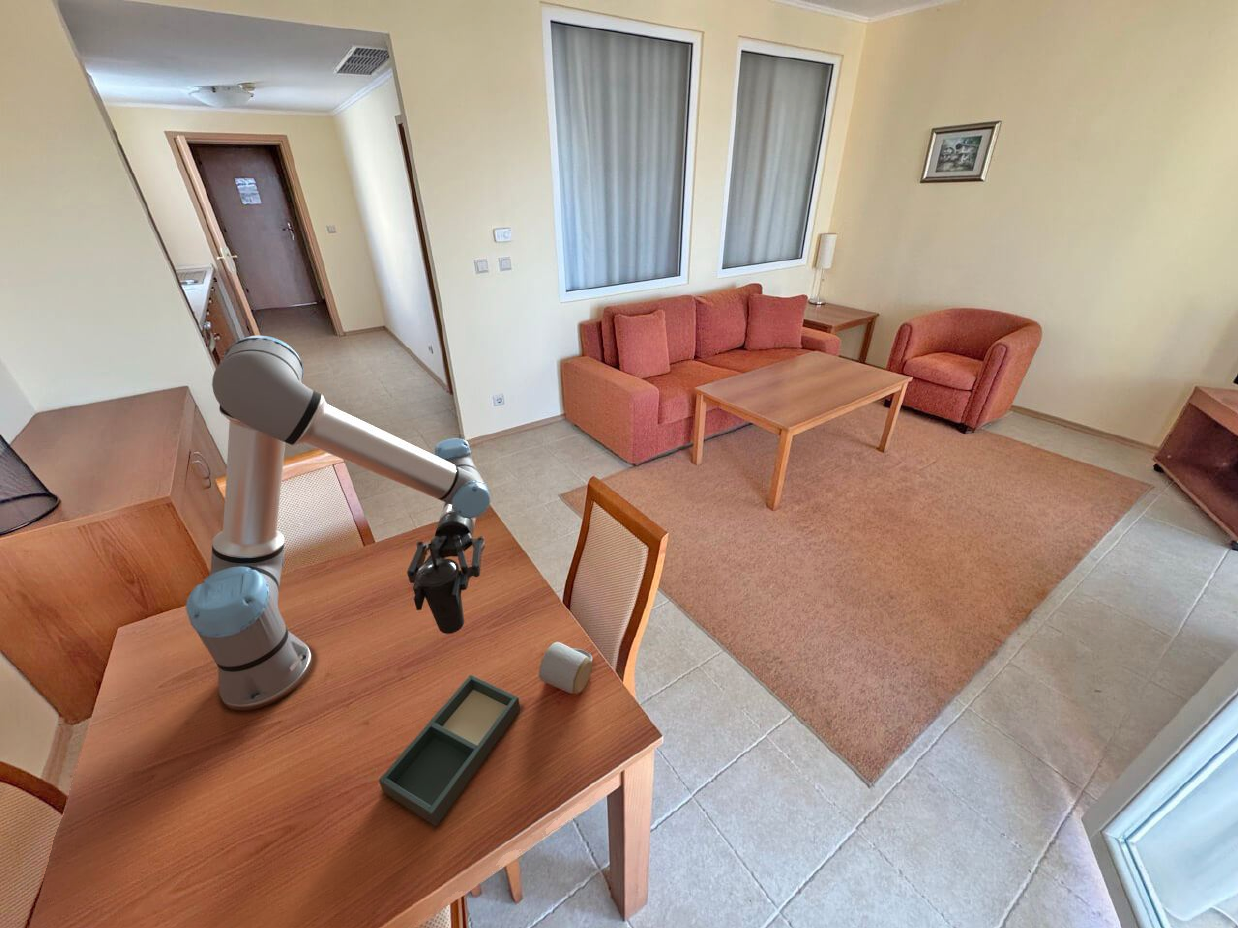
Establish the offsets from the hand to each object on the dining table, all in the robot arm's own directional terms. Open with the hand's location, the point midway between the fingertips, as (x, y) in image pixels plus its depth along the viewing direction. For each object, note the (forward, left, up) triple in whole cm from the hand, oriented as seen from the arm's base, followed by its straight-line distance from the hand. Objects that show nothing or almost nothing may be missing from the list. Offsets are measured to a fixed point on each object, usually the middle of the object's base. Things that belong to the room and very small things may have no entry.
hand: (436, 602), depth 88 cm
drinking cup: (-3, +4, -11) cm, 12 cm away
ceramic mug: (+20, +10, -20) cm, 30 cm away
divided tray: (+10, -11, -20) cm, 25 cm away
